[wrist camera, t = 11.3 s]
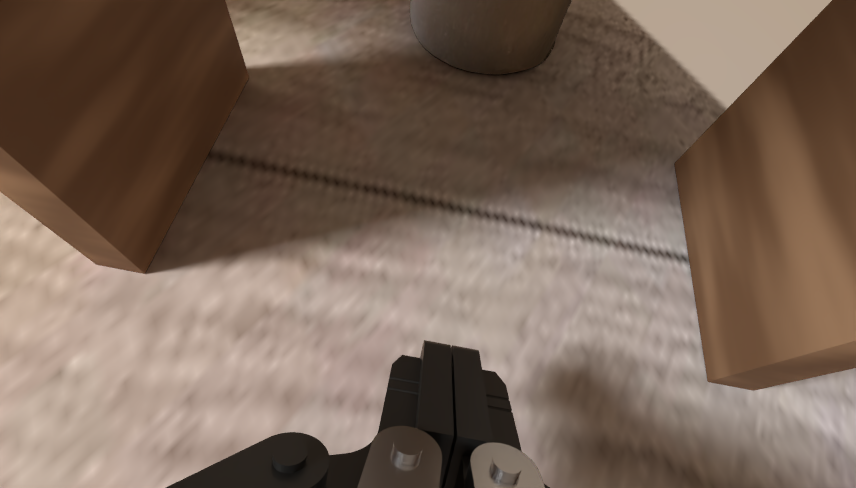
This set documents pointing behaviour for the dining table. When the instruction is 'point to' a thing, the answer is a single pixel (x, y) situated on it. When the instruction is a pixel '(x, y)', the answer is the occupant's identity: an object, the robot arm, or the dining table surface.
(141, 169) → the wooden arch gate
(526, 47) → the pillar candle
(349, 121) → the dining table surface
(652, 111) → the dining table surface
